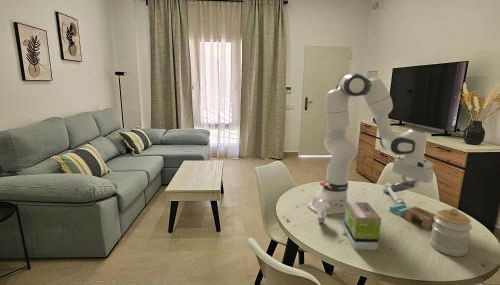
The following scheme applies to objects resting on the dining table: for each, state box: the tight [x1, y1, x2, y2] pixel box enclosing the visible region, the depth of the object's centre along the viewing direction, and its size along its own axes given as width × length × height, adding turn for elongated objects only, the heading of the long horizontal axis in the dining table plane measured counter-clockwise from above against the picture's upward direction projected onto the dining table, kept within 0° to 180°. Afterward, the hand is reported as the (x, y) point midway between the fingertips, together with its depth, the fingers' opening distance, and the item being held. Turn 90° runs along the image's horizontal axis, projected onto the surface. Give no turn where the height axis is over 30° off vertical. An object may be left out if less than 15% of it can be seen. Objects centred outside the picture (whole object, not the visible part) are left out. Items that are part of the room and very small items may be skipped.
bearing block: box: [403, 205, 437, 231], centre depth 137 cm, size 8×12×5 cm, turn 27°
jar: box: [429, 208, 473, 257], centre depth 115 cm, size 13×13×18 cm
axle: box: [391, 179, 419, 193], centre depth 146 cm, size 16×4×4 cm, turn 117°
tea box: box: [343, 201, 382, 251], centre depth 120 cm, size 15×10×15 cm, turn 178°
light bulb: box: [315, 199, 330, 224], centre depth 135 cm, size 7×7×12 cm
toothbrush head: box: [382, 182, 407, 206], centre depth 166 cm, size 5×7×25 cm
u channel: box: [389, 203, 413, 217], centre depth 149 cm, size 10×6×3 cm, turn 117°
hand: (409, 185), depth 148 cm, fingers closed on axle, 4 cm apart
